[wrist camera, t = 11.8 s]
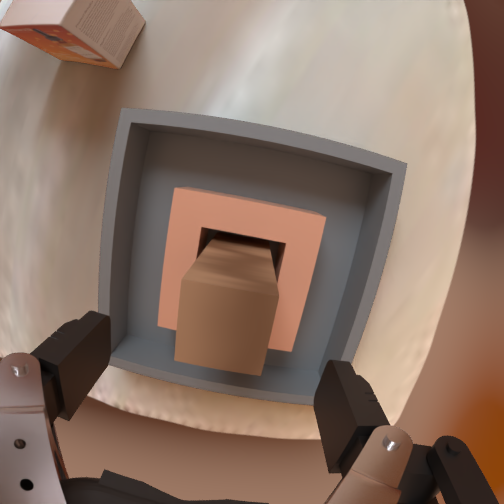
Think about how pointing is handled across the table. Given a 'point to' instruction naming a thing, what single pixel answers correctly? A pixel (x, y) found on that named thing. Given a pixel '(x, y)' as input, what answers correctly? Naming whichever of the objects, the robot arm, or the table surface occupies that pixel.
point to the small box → (77, 28)
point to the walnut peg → (228, 306)
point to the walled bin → (247, 225)
